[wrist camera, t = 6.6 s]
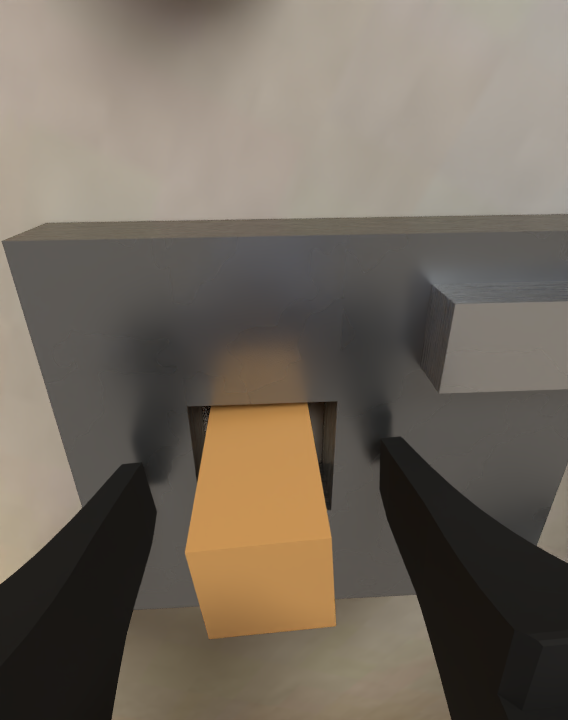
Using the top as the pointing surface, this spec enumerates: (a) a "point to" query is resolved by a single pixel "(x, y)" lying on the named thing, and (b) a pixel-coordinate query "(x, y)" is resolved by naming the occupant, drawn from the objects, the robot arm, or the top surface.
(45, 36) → the top surface
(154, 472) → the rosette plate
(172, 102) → the top surface
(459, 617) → the robot arm
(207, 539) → the orange rectangular peg
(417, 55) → the top surface
